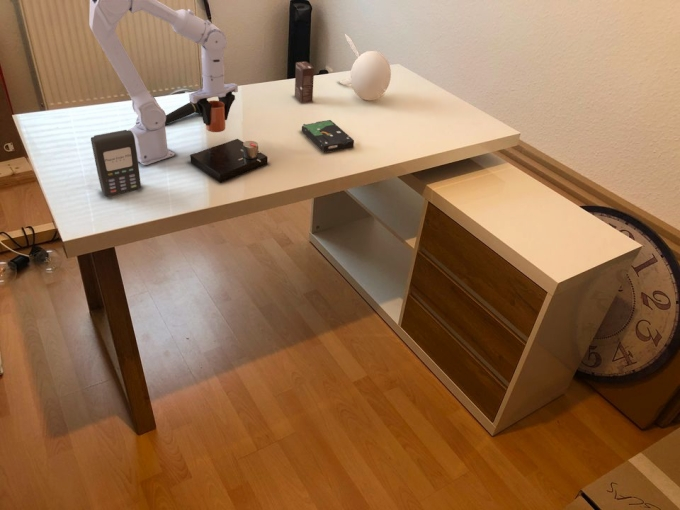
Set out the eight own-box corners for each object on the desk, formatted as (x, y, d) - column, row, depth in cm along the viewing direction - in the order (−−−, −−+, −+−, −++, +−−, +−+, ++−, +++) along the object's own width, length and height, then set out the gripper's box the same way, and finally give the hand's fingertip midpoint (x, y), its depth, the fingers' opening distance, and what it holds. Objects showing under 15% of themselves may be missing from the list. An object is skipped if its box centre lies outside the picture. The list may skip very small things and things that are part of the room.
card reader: (105, 199, 131) (93, 142, 122) (99, 191, 134) (88, 135, 125) (143, 190, 136) (135, 134, 127) (137, 182, 138) (128, 127, 129)
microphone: (157, 139, 163) (210, 113, 174) (157, 125, 158) (211, 99, 170) (145, 128, 164) (198, 103, 175) (145, 113, 160) (199, 89, 171)
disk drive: (354, 148, 165) (329, 127, 174) (355, 140, 163) (330, 118, 172) (323, 154, 160) (300, 131, 169) (324, 145, 158) (301, 123, 168)
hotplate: (223, 184, 142) (222, 175, 140) (190, 163, 149) (189, 154, 147) (271, 165, 152) (272, 156, 150) (239, 145, 159) (239, 137, 157)
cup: (213, 134, 152) (212, 110, 148) (202, 127, 154) (200, 103, 150) (229, 129, 155) (228, 105, 151) (217, 122, 158) (216, 98, 153)
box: (293, 96, 190) (295, 62, 182) (305, 95, 192) (307, 61, 184) (300, 103, 186) (302, 68, 178) (312, 102, 188) (315, 67, 180)
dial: (240, 154, 149) (239, 142, 147) (251, 150, 152) (251, 138, 150) (249, 160, 147) (249, 148, 145) (261, 156, 150) (261, 143, 148)
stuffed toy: (407, 61, 182) (362, 28, 194) (375, 70, 175) (330, 35, 188) (396, 111, 195) (355, 77, 208) (366, 121, 189) (325, 85, 202)
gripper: (199, 84, 139) (202, 133, 147) (244, 72, 148) (244, 120, 156) (183, 75, 142) (186, 123, 151) (228, 64, 151) (229, 111, 159)
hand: (215, 121), depth 153 cm, fingers closed on cup, 5 cm apart
